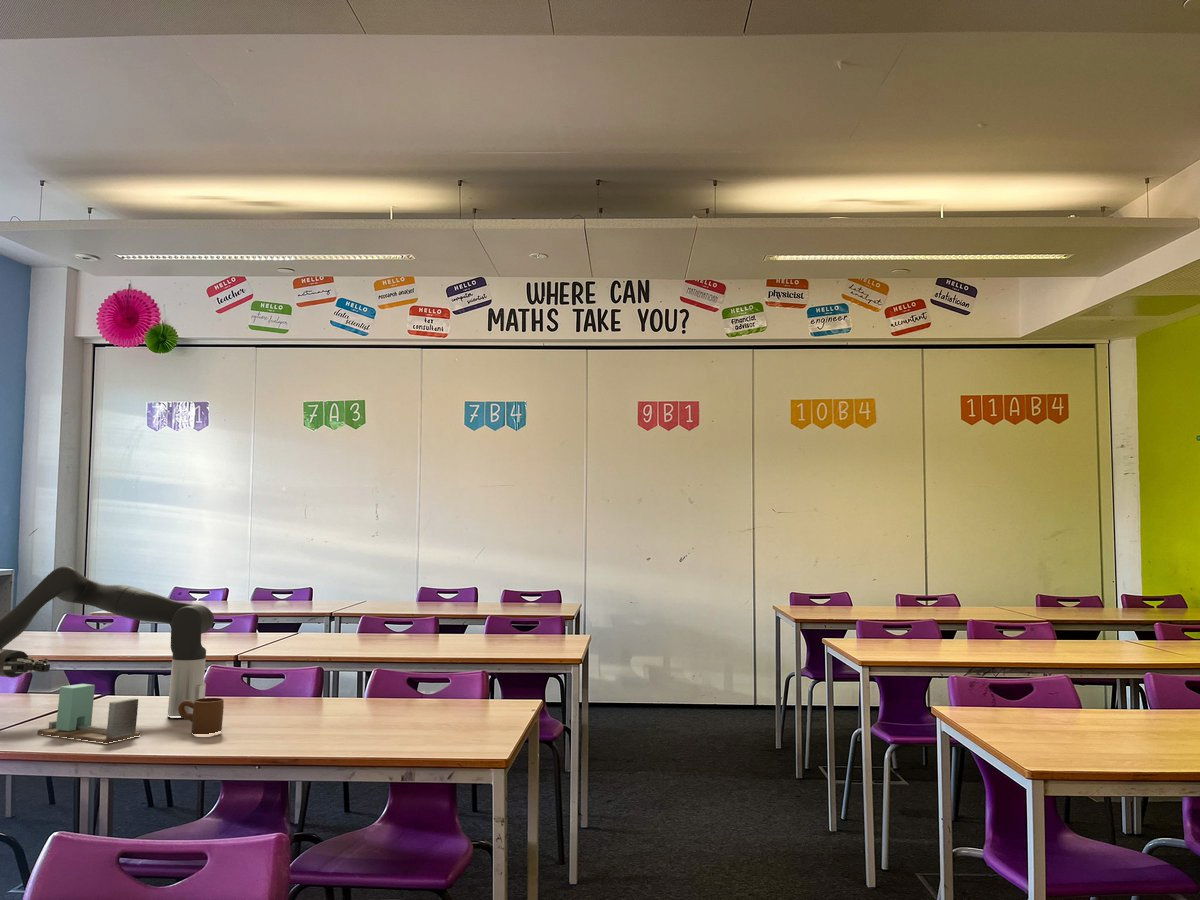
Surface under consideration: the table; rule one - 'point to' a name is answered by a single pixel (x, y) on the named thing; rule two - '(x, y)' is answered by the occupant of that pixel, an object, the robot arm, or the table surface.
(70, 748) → the table surface
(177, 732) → the table surface
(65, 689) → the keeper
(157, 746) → the table surface
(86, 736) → the board
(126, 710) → the rail
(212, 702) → the mug
